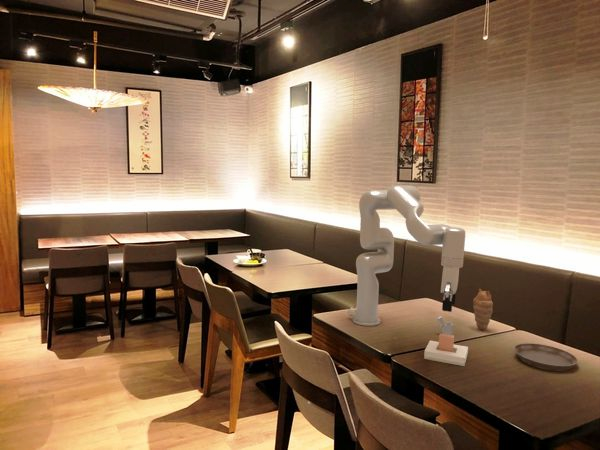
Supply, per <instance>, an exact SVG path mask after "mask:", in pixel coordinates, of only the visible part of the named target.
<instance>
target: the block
mask: <svg viewBox="0 0 600 450" xmlns="http://www.w3.org/2000/svg"><path fill="white" fill-rule="evenodd" d="M438 342H439V345H438V350H442V351H448V352H453V347H454V345H455V335H454V334H453V335H448V334H442V333H439V334H438Z"/></svg>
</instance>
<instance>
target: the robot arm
mask: <svg viewBox="0 0 600 450" xmlns="http://www.w3.org/2000/svg"><path fill="white" fill-rule="evenodd" d="M420 200H421V193H420V190H419V189H418V188H417V187H416V186H414V185H409V184H408V185H393V186H391V187H390V188H388V189H373V190H368V191H365V192H363V194H362V195H361V196H360V198H359V202H358V203H359V205H358V210H359V214H360V215H359V216H360V229H359V230H360V231H359V233H360V234H359V242H360V244H359V245H360V246H361V248H362V249H364V250H366V251H367V250H369V252H363V253H360V254H359V255H358V256H357V257H356V261H355V268H356V276H357V282H356V283H357V289H356V309H355V310H351V309H348V310H347V315H348V316H353V317H352V322H353V323H355V325H356V324H357V325H360V326H365V327H373V326H379V325H380V324H381V323H382V321H381V318H380V317H378V311H379V291H380V289H379V287H380V286H379V285H380V284H379V283H380V282H379V279H378V278H377V276H376V274H381V273H386V272H389V271H390V270H391V269H392V268H393V265H394V253H395V237H394V234H393V231H392V230H390V229H389V228H387V227H381V224H380V223H381V218H380V215H379V214H378V212H377V210H378V211H379V210H384V211H385V210H396V211H397V212H398V213H399V214H400V215H401V216H402V217H403V218H404V219H405V226H406V229H407V231H408V233H409V234H410V236H411V237H412V238H413V239H414V240H415V241H416V242H417V243H419V244H421V245H423V246H436V245H437V246H440V245H442V247H441V259H440V260H441V262H440V265H441V266H442V267H443V268H442V274H441V275H442V276H441V285H440V293H441V294H443V297H442V306H441V307H442V309H441V310H442V311H443V312H448V313H451V312H452V310H453V309H452V308H453V306H454V305H455V304H456V292H457V290H458V285H459V275H460V269H461V268H463V267H464V257H465V255H464V253H465V246H466V245H465V243H466V242H465V241H466V230H465V229H463V228H461V227H455V226H449V224H448V225H447V224H426V223H424V221H422V220H421V219H420V217H421V216H422V214H423V213H424V205H423V204H422V203H421V202H420ZM370 250H377V251H372V252H371V251H370Z"/></svg>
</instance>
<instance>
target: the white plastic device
mask: <svg viewBox="0 0 600 450" xmlns="http://www.w3.org/2000/svg"><path fill="white" fill-rule="evenodd" d="M436 319H437V321H438V325H439V326H440V327H442V331H441V332H442V334H448V335H454V324H453V323H452V322H451V321H446V322H444V320H443V317H442V316H441V315H439V316H437V317H436Z"/></svg>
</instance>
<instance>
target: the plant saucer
mask: <svg viewBox="0 0 600 450" xmlns="http://www.w3.org/2000/svg"><path fill="white" fill-rule="evenodd" d="M513 350H514V352H515V354H516V356H518V358H519V359H520V360H521V361H522V362H524V363H526V364H527V365H530V366H532V367H535V368H536V369H537V368H538V369H542V370H546V371H552V372H553V371H554V372H555V371H556V372H559V371H560V372H562V371H567V370H570V369H572V368H573V367H575V366H576V365H577V364H578V362H579V361H578V360H579V359H578V358H577V357H576V356H575V355H574V354H573V353H570V352H568V351H566V350H564V349H561V348H558V347H554V346H550V345H546V344H540V343H528V342H527V343H526V342H524V343H520V344H515V346H514V347H513Z"/></svg>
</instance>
